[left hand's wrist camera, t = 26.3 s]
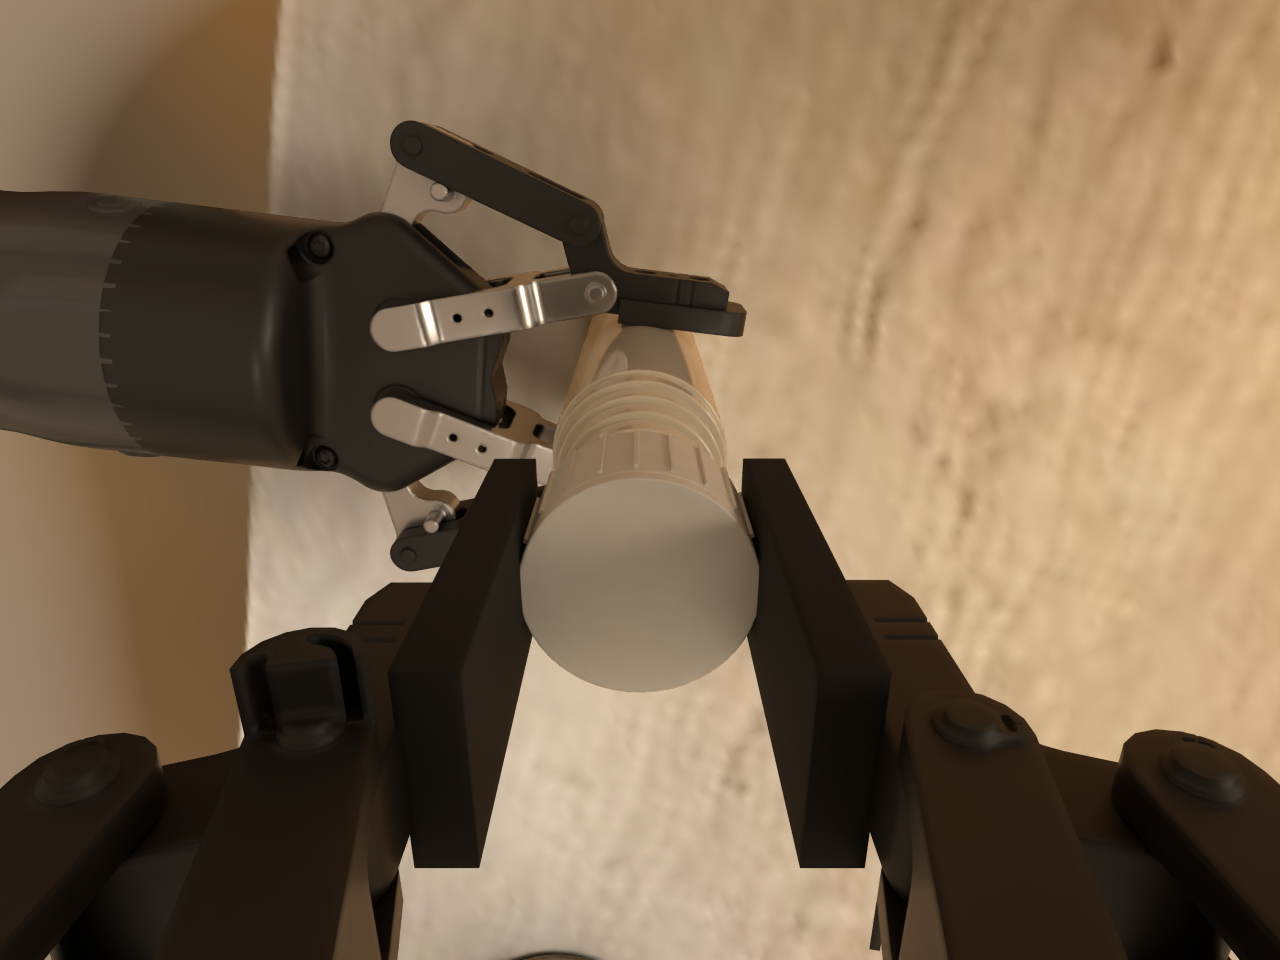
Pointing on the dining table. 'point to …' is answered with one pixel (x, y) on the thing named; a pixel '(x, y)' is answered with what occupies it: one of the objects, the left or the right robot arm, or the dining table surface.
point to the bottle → (638, 389)
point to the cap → (639, 564)
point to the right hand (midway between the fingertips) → (726, 396)
